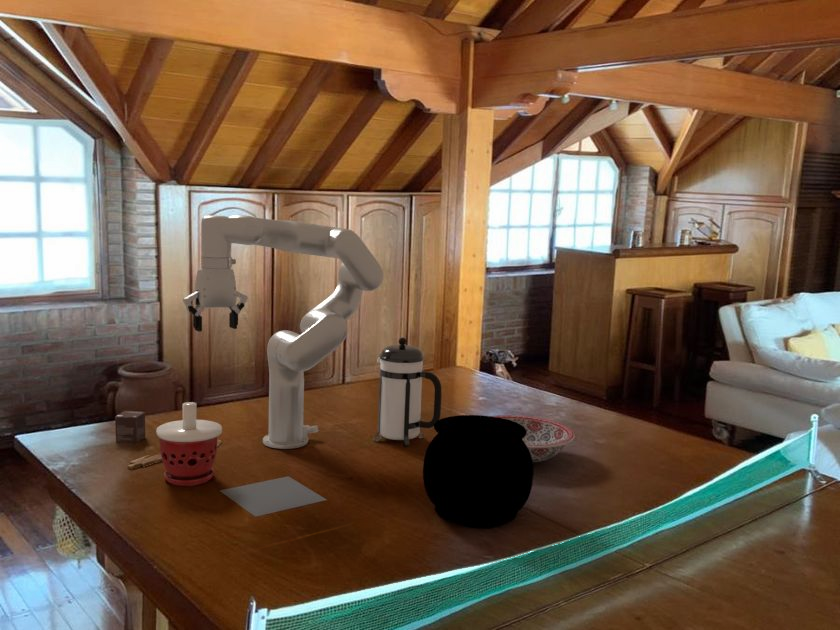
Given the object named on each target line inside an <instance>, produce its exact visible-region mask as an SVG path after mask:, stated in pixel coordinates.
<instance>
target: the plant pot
mask: <svg viewBox="0 0 840 630" xmlns="http://www.w3.org/2000/svg"><path fill="white" fill-rule="evenodd" d="M217 439H218V436H217V437H215V438H212V439H208V440H203V441H196V442H174V441H168V440H164V439H161V438H159V447H160V449H159V450H160V454H161V457H162V464H163V467H164V468H165V471H164V473H163V477H164V479H165V480H166V481H167V482H168V483H169V484H172V485H175V486H180V487H181V486H182V487H189V486H190V487H191V486H199V485H201V484H205V483H207V482H209V481H210V480H211V479H212V478H213V477H214V474H215V469H214V468H213V466H214V463H215V460H216V457H217V456H216V455H217V451H218V449H217V448H218V447H217Z"/></svg>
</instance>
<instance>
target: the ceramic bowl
mask: <svg viewBox="0 0 840 630" xmlns="http://www.w3.org/2000/svg"><path fill="white" fill-rule="evenodd" d="M491 416H492V417H498V418H503V419H507V420H511V421H514V422H516V423H518V424H520V425H522V426H523V427H524V428H525V429H526V431H527V433H526V436H525V437H524V438H522V440H523V441H524V443H525V444H526V445H527V447H528V449H529V451H530V454H531V457H532V461H533V463H539V462H544V461H547V460H549V459H551V458H554V457H555V456H556V455H557V454H559V453H560V452H561V451H562V450H563V449H564V448H565V446H566V445H568V444H570V443H571V442H573V441H574V440H575V437H576V436H575V432H574V431H573V430H572V429H571V428H570V427H568V426H566V425H564V424H563V423H562V424H561V423H559V422H556V421H554V420H549V419H545V418H541V417H540V418H539V417H535V416H528V415H527V416H525V415H517V414H515V415H512V414H511V415H508V414H507V415H505V414H504V415H491Z"/></svg>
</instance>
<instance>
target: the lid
mask: <svg viewBox="0 0 840 630" xmlns="http://www.w3.org/2000/svg"><path fill="white" fill-rule="evenodd" d="M181 407H182V419H181V420H174V421H173V420H172V421H168V422H165V423H163V424H161V425H159V426H158V427H157V428H156V434H155V435H156V436H157V437H158V438H159V439H160V438H161V439H164V440H168V441H174V442H196V441H203V440H208V439H212V438H215V437H217V438H218V436H220V435H221V434H222V433H223V427H222V425H221V424H220V423H219V422H215V421H212V420H206V419H197V415H198V414H197V402H194V401H191V402H190V401H186V402H183V403H182V406H181Z"/></svg>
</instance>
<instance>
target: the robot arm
mask: <svg viewBox="0 0 840 630" xmlns="http://www.w3.org/2000/svg"><path fill="white" fill-rule="evenodd" d="M200 224H201V225H200V226H201V227H200V229H201V230H200V232H201V233H200V235H201V236H200V241H201V242H200V268H198V269H197V271H196V276H195V283H194V292H193V293H191V294H189V295H187V296H186V297H184V298H183V299H182V301H183V304H184V306H185V307H186V310H187V311H188V312H190V314H191V315H192V322H193V323H192V324H193V325H192V327H193V328H194V331H196V332H199V333H200V332H203V316H201V314H202V313H203V311H204V310H205V309H223V308H224V309H226V308H228V309H229V310H230V312H229V314H228V315H229V320H228V321H229V322H228V324H229V325H228V327H229V328H231V329H234V330H237V329H238V325H239V314H240V313H241V311H242V310H243V308H245V304H246V302H247V300H248V298H249V297H248V296H247V295H246V294H243V293H241V292H239V291H238V290H237V283H236V282H237V281H236V277H235V276H236V274H235V272H234V269H233V268H232V267H233V265H236V264H237V261H236V259H235V258H233V256H232V244H237V245H245V246H252V245H253V246H261V247H266V248H271V249H272V248H273V249H275V250H279V251H282V252H288V253H293V254H300V255H301V254H302V255H310V256H316V257H317V256H318V257H325V258H333V259H338V260H340V261H341V264H340V265H339V267H338V273H337V284H336V287H335V290H334V291H333V292H332V293H331V294H330V295H329V296H328V297H326V299H324V300H323V301H322V302H320V303H319V304H317V305H315V307H313V308H311V310H309V311H308V312H307V313H306V314H305V315H304V316H303V317H302V319H301V321H300V324H299V329H300V332H301V334H299V333H297V332H294V331H292V330H287V329H285V330H284V329H283V330H279V331H276V332H275V333H274V334H273V335H272V336H271V337H270V338H269V339H268V343H267V347H266V355H267V362H268V363H267V365H268V374H269V377H268V378H269V379H268V380H269V381H268V382H269V387H268V434H266V435H264V437H263V438H262V443H263V445H264V446H266V447H268V448H273V449H279V450H287V449H288V450H290V449H297V448H302V447H305V446H306V445H308V443H309V437H308V436H309V434H314V433H315V434H316V433H318V432H319V425H311V426H310V425H309V424H307V425H305V424H304V399H305V397H304V395H305V374H304V372H306V371H309V370H311V369H312V368H314V367H315V366H316V365H318V364H319V363H320V362H322V361H323V360H324V359H325V358H327V357H328V356H329V355H330V354H332V353H333V352H334V351H335V350H337V349H338V348H339V347H340V346H341V345H342V344H343V342H344V341H345V340H346V339H347V335H348V329H349V328H348V322H347V321H348V320H349V319H351V317H353V316H354V314H356V313H357V311H358V309H359V308H360V306H361V302H362V298H363V291H364V292H373V291H375V290H377V289H378V288H380V286H381V285H382V283H383V280H384V271H383V268H382V266H381V264H380V263H379V261H378V260H377V258H376V257H375V256H374V254H373V253H372V252H371V251H370V249H369V248H368V246H367V245H366V244H365V242H364V241H363V240H362V238H361V237H360V236H359V235H358V234H357V233H356V232H355V231H354V230H352V229H349V228H344V227H343V228H342V227H336V226H330V225H329V226H328V225H322V224H316V223H310V222H304V221H303V222H302V221H297V220H296V221H295V220H286V219H285V220H284V219H283V220H282V219H281V220H278V219H267V218H261V217H254V216H249V215H246V214H245V215H243V214H234V215H230V216H225V215H205V216H203V217H202V218H201V223H200ZM237 299H239V302H238V303H237ZM192 301H193V303H194V305H195V306H193V305H192Z"/></svg>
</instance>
